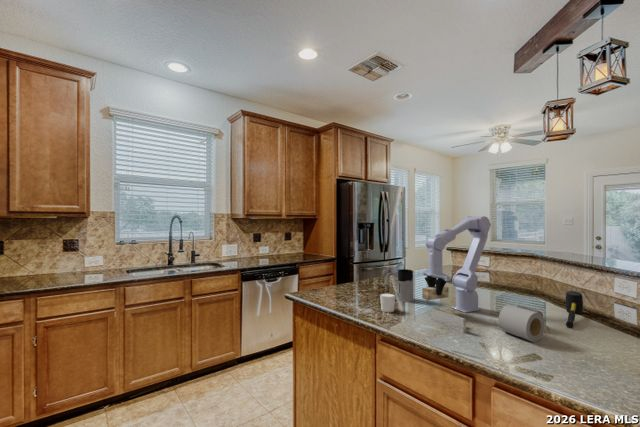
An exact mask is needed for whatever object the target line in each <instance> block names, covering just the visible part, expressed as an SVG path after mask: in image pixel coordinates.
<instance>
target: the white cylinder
mask: <svg viewBox="0 0 640 427" xmlns="http://www.w3.org/2000/svg"><path fill="white" fill-rule="evenodd" d="M516 307H519V308H522V309H526V310H530V311H533V312H537V313H540V314H541V315H542V316H543V317H544V314H543V312H542V311H540V310H538V309H535V308H531V307H527V306H524V305H520V304H519V305H516Z"/></svg>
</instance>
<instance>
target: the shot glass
mask: <svg viewBox="0 0 640 427" xmlns="http://www.w3.org/2000/svg"><path fill="white" fill-rule="evenodd" d="M379 298H380V309H381V312H384V313H393V312H394V311H395V302H396V295H395V294H392V293H388V292H387V293H381V294H379Z"/></svg>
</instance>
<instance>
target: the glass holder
mask: <svg viewBox="0 0 640 427" xmlns="http://www.w3.org/2000/svg"><path fill="white" fill-rule="evenodd" d="M390 274H392V275H393V278H394V282H397V292H396V291H395V290H394V289H393V288H392V287H391V286H390V284H389V282H388V276H389V275H390ZM385 280H386V284H387V285H388V288H390V289H391V290H392V292H394V293H395V294H396V300H397V301H399V302H405V303H410V302H414V301H415V299H414V271H413V270H412V269H406V268H405V269H404V268H402V269H398V270H397V280H396V276H395V274H394V273H393V272H389V273H387V274H386V278H385Z"/></svg>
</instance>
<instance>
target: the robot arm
mask: <svg viewBox="0 0 640 427" xmlns="http://www.w3.org/2000/svg"><path fill="white" fill-rule="evenodd" d="M491 226H492V223H491V221H490V219H489V218H488V217H487V216H486V215H485V216H483V215H482V216H472V215H471V216H467V217H464V218H463V220H462V221H460V222H459V223H458V224H455V226H453V227H452V228H443V230H442V231H441V232H439V233H436V234H435V235H434V236H430V237H428V239H427V240H426V242H425V246H426V248H427V252H428V270H422V276H425V277H424V280H425V281H426V284H427V286H428V287H435V286H436V293H437V295H438V296H439V295H442V291H443V288H444V286H446V284H447V282H450V281H451V283H452V285H453V286H454V289H455V306H451V309H455V310H457V311H459V312H463V313H470V312H471V313H472V312H476V311H480V310H481V309H480V308H479V295H478V292H477V291H476V289H477V287H478V279H479V276H478V275H477V274H476V270H477V268H478V264H479V262H480V259H481V256H482V254H483V251H484V248H485V246H486V244H487V240H488V235H489V232H490V230H491V229H490V228H491ZM466 230H467V231H468V232H469V233H470V234H471V236H473V238H472V242H471V244H470V246H469V249H468V252H467V254H466V256H465V260H464V262H463V266H462V267H461V268H459V269H457V271H456V272H455V274H454V275H453V277H452V279H451V276H449V275H447V274H444V273H443V250H444V249H445V248H446V246H447V245H448V244H449V243H452V241H454V240H456V237H457V236H458V235H459V234H461V233H463V232H465V231H466ZM428 287H427V288H428Z"/></svg>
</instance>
